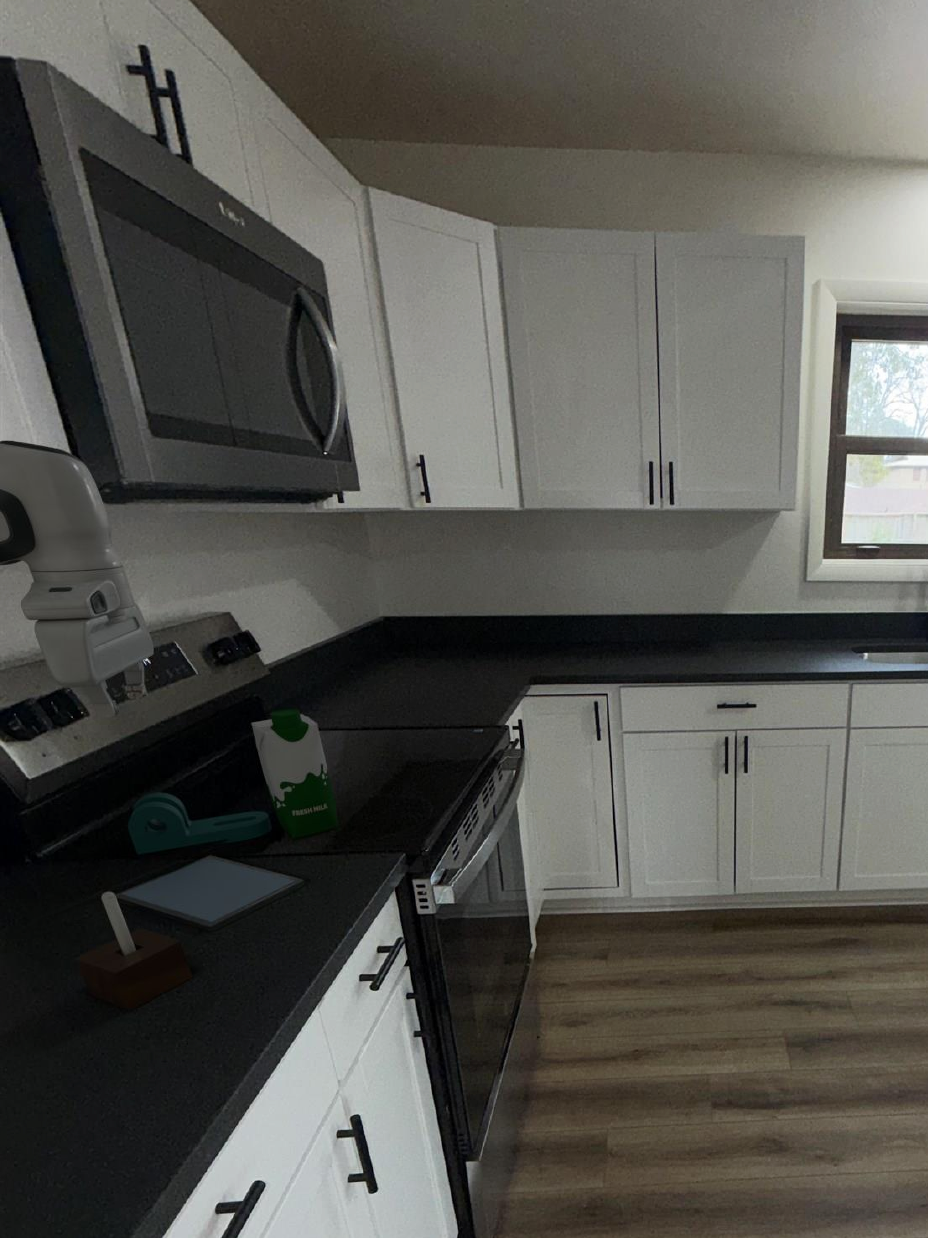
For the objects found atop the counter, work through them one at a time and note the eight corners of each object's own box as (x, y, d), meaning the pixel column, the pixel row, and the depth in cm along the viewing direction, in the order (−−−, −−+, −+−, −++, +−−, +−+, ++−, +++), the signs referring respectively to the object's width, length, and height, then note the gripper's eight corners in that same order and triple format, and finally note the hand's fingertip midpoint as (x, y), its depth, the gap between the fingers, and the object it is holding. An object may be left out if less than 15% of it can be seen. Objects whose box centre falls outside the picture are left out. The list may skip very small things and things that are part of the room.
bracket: (138, 858, 118) (121, 811, 115) (143, 842, 123) (127, 796, 120) (272, 835, 126) (259, 790, 123) (271, 820, 131) (259, 777, 128)
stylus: (134, 988, 88) (97, 893, 83) (145, 982, 89) (109, 888, 84) (140, 990, 87) (104, 896, 82) (151, 984, 88) (116, 891, 83)
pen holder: (90, 995, 86) (74, 958, 84) (154, 963, 92) (141, 927, 90) (130, 1011, 84) (114, 973, 82) (193, 977, 90) (180, 940, 87)
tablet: (114, 901, 106) (112, 895, 105) (212, 860, 117) (210, 854, 117) (211, 932, 99) (209, 925, 98) (305, 885, 110) (304, 879, 110)
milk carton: (289, 843, 123) (257, 720, 115) (273, 826, 129) (241, 709, 121) (346, 828, 128) (319, 710, 120) (328, 812, 134) (301, 699, 126)
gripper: (93, 584, 101) (127, 689, 107) (11, 606, 83) (58, 730, 89) (148, 583, 103) (179, 686, 108) (79, 604, 85) (121, 726, 91)
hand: (124, 706), depth 99 cm, fingers open, 8 cm apart
